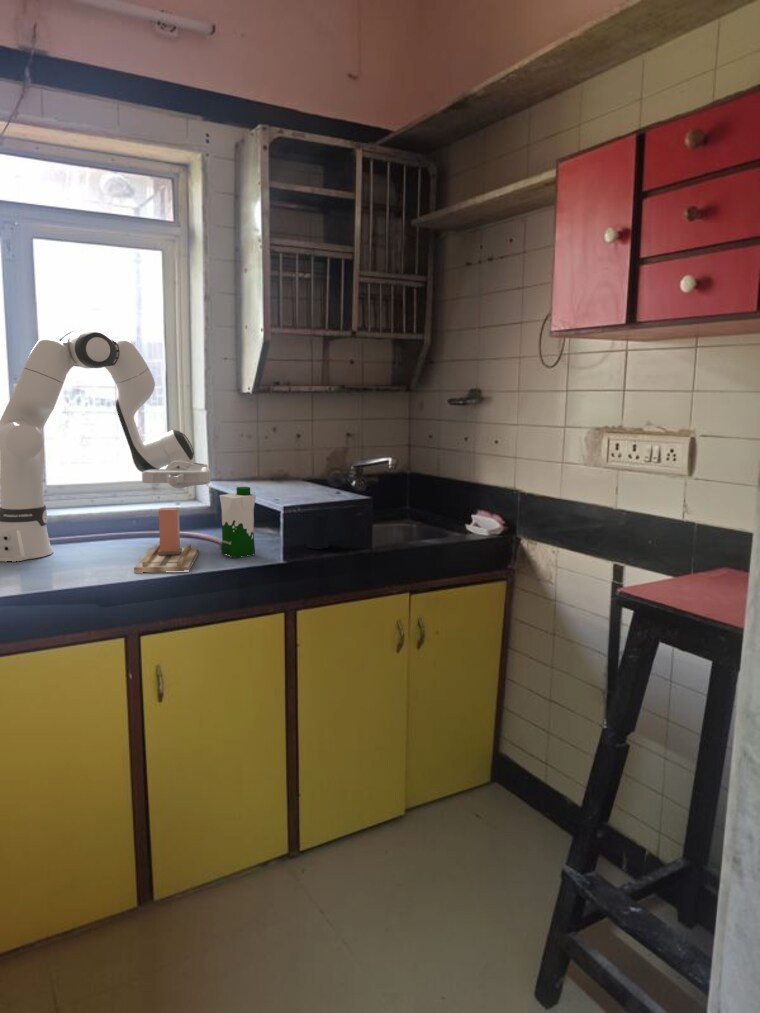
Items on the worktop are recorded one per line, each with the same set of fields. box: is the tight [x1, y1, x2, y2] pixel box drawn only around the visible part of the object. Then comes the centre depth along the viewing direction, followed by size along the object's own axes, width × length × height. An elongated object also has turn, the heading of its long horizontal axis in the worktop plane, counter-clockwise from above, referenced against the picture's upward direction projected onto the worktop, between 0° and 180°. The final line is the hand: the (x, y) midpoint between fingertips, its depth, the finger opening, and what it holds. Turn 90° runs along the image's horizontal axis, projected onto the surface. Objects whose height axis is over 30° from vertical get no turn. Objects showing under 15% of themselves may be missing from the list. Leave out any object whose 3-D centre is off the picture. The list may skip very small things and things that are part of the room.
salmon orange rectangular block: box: [158, 507, 183, 555], centre depth 202 cm, size 6×5×13 cm
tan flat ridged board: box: [133, 543, 199, 574], centre depth 199 cm, size 14×24×3 cm, turn 8°
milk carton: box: [219, 486, 257, 558], centre depth 208 cm, size 9×9×20 cm
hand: (173, 479), depth 209 cm, fingers closed
